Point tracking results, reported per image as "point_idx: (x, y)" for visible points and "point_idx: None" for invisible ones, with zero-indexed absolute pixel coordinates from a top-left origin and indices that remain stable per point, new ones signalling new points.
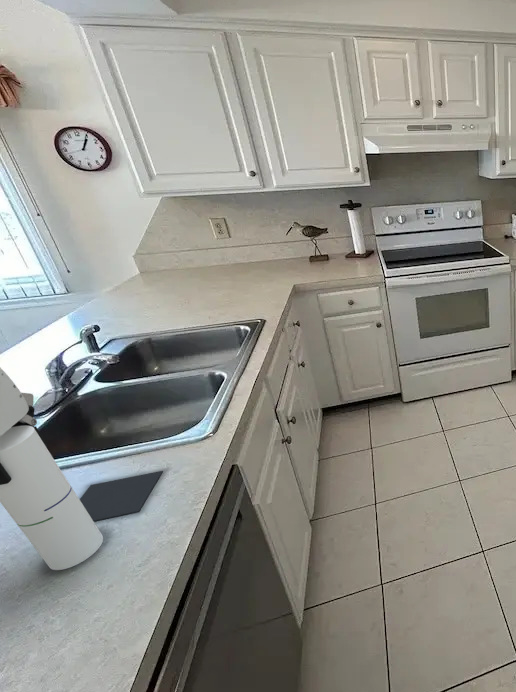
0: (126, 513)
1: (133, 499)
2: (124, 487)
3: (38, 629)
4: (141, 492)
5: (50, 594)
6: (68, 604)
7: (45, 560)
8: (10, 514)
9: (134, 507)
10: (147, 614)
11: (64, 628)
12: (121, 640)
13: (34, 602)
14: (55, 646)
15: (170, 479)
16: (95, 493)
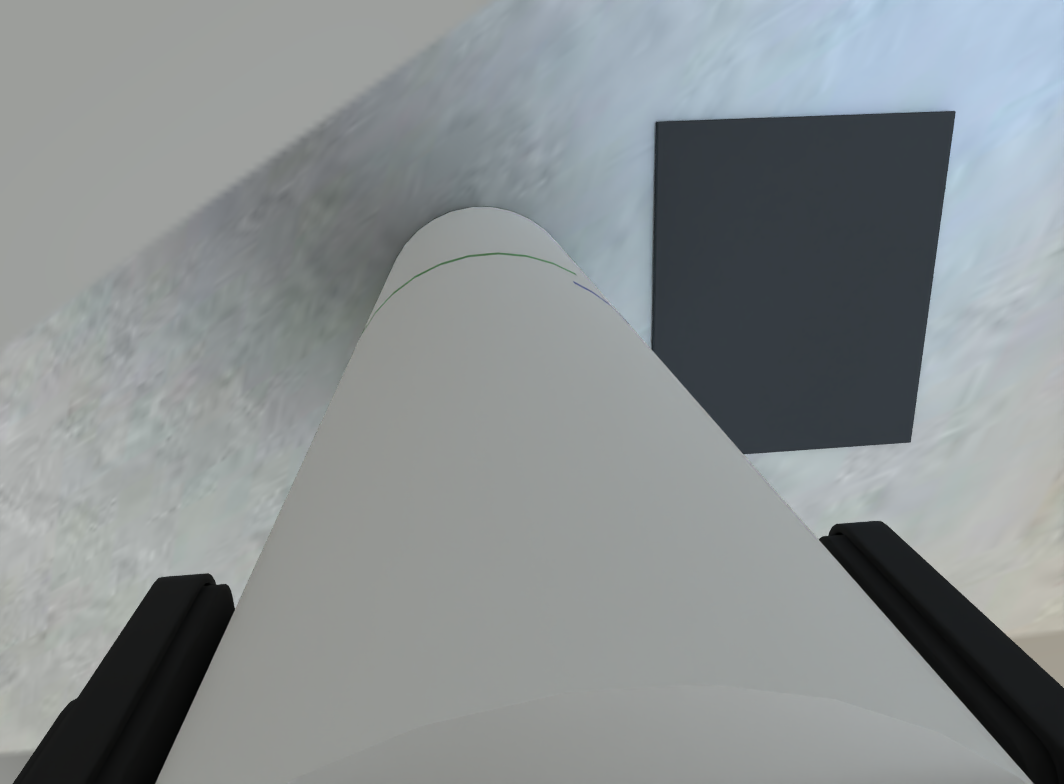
0: None
1: (741, 401)
2: (853, 312)
3: (110, 382)
4: (779, 415)
5: (266, 328)
6: (205, 429)
7: (392, 267)
8: (352, 356)
9: None
10: None
11: (103, 475)
12: (38, 681)
13: (237, 285)
14: (35, 486)
15: (830, 497)
16: (866, 180)
